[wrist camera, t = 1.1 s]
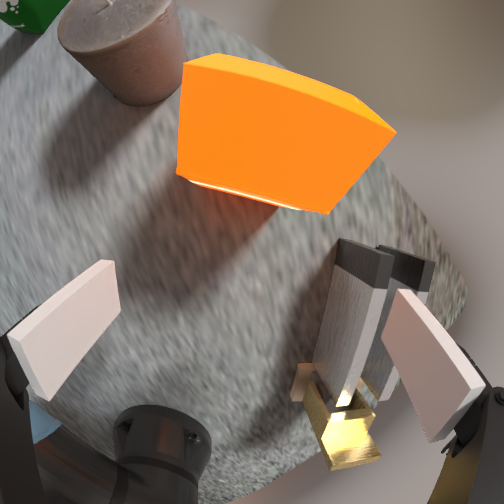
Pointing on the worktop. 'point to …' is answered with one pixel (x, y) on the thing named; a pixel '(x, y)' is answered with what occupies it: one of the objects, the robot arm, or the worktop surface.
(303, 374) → the stand
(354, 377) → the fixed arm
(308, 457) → the worktop surface
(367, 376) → the tongs arm
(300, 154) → the orange juice
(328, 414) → the lock collar
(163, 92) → the pillar candle
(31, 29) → the milk carton
